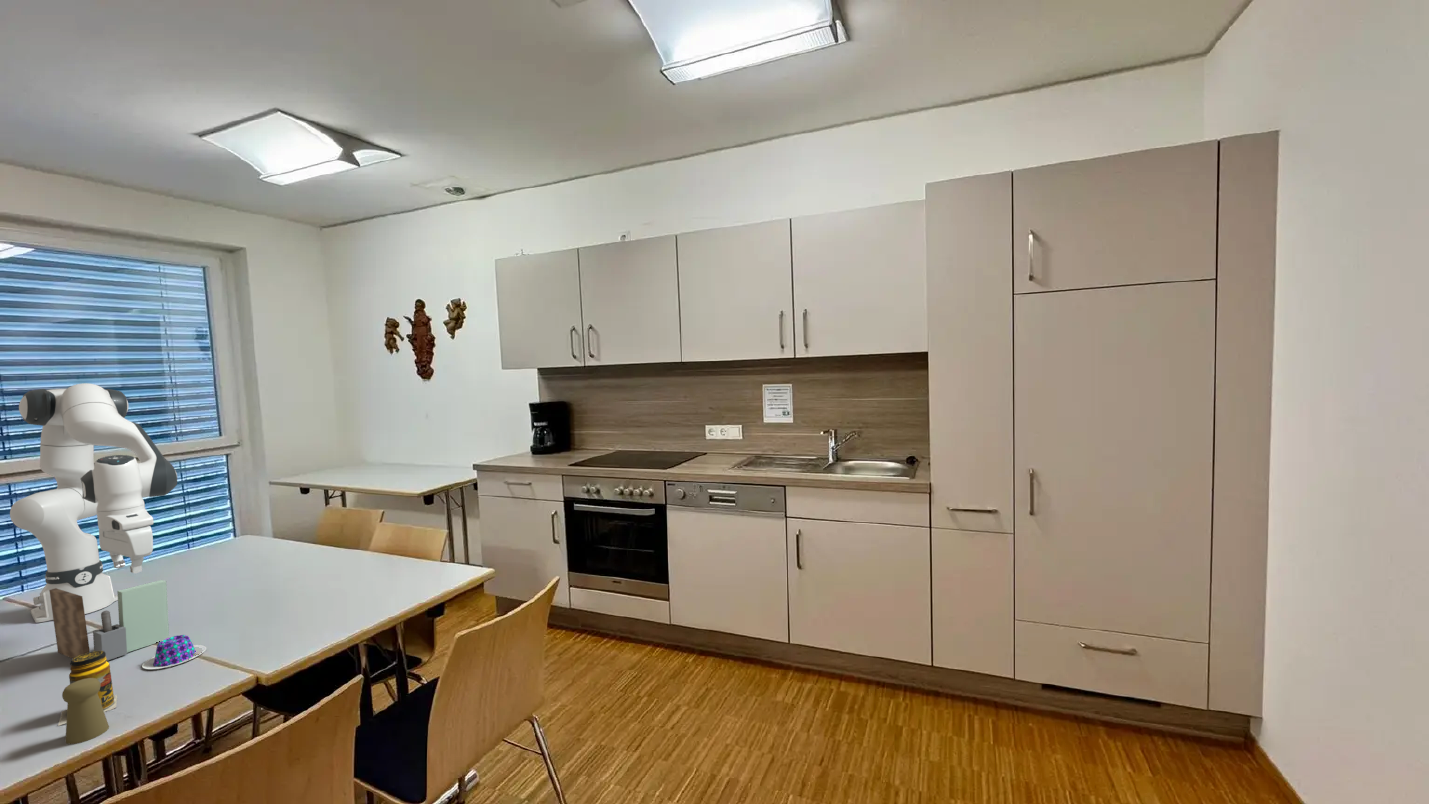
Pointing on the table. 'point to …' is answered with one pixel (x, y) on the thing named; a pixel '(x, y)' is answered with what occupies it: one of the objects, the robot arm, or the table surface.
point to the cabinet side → (72, 623)
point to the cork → (84, 711)
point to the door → (136, 620)
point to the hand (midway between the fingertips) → (128, 570)
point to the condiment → (93, 668)
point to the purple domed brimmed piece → (172, 652)
